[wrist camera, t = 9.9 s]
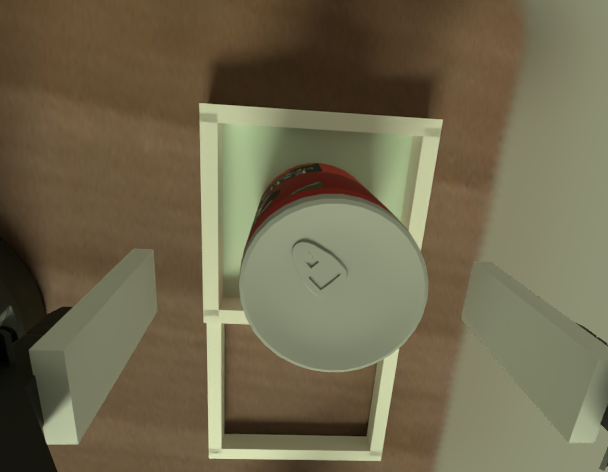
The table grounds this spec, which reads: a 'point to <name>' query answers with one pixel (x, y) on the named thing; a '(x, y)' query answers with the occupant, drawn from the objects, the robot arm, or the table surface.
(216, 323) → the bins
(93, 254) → the table surface
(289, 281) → the canned food
